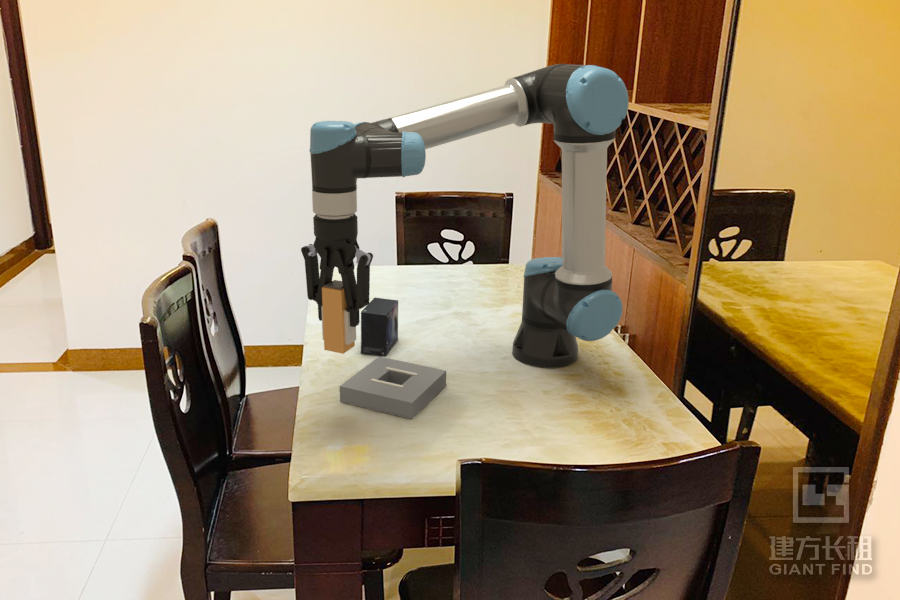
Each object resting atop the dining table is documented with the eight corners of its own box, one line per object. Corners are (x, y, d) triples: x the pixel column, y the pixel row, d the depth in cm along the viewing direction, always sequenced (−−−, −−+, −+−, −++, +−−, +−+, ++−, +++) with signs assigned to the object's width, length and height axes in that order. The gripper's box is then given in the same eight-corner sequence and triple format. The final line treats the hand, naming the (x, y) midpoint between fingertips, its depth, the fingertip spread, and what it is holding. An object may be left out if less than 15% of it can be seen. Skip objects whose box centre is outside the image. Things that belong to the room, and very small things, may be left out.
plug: (354, 345, 134) (353, 282, 130) (343, 353, 131) (341, 288, 126) (336, 342, 136) (334, 279, 131) (324, 349, 132) (321, 285, 128)
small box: (387, 357, 165) (387, 314, 162) (360, 354, 167) (359, 311, 163) (399, 340, 175) (399, 299, 172) (373, 337, 176) (373, 296, 173)
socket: (446, 385, 153) (446, 369, 151) (411, 419, 139) (411, 401, 137) (379, 371, 158) (379, 355, 157) (340, 401, 145) (339, 384, 143)
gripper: (389, 215, 125) (390, 340, 133) (306, 204, 131) (311, 325, 139) (367, 224, 118) (370, 355, 126) (280, 212, 125) (288, 338, 132)
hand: (339, 339), depth 133 cm, fingers closed on plug, 4 cm apart
